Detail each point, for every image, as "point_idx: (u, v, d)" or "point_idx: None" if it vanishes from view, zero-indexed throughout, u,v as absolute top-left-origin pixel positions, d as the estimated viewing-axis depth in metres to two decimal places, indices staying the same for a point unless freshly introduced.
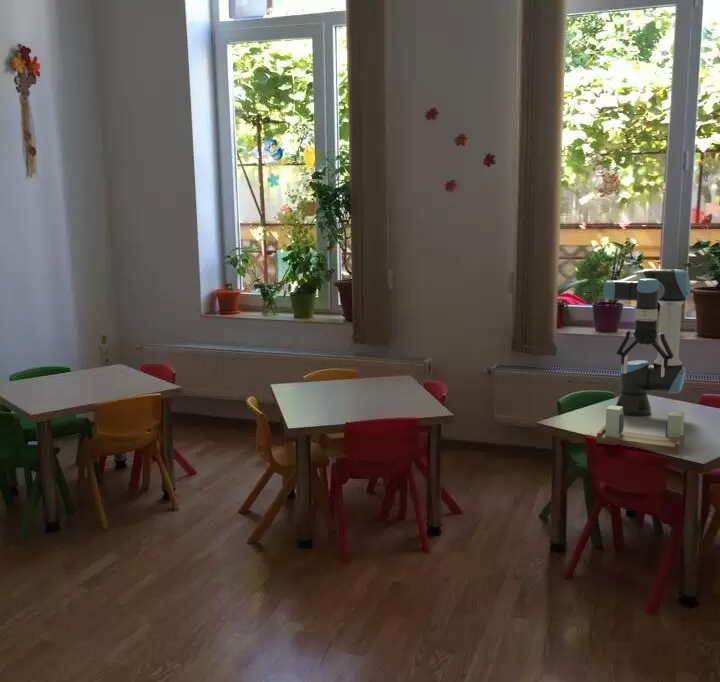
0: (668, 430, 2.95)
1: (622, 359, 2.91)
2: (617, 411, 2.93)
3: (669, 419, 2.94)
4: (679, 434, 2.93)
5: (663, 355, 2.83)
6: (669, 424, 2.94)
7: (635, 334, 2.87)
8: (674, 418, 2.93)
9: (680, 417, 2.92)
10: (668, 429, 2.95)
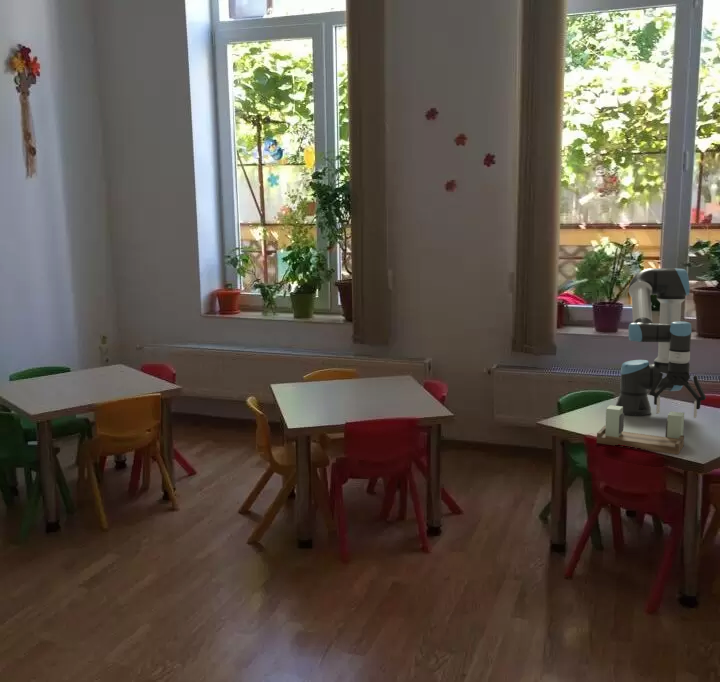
0: (668, 430, 2.95)
1: (655, 399, 2.98)
2: (617, 411, 2.93)
3: (669, 419, 2.94)
4: (679, 434, 2.93)
5: (696, 396, 2.89)
6: (669, 424, 2.94)
7: (668, 375, 2.93)
8: (674, 418, 2.93)
9: (680, 417, 2.92)
10: (668, 429, 2.95)
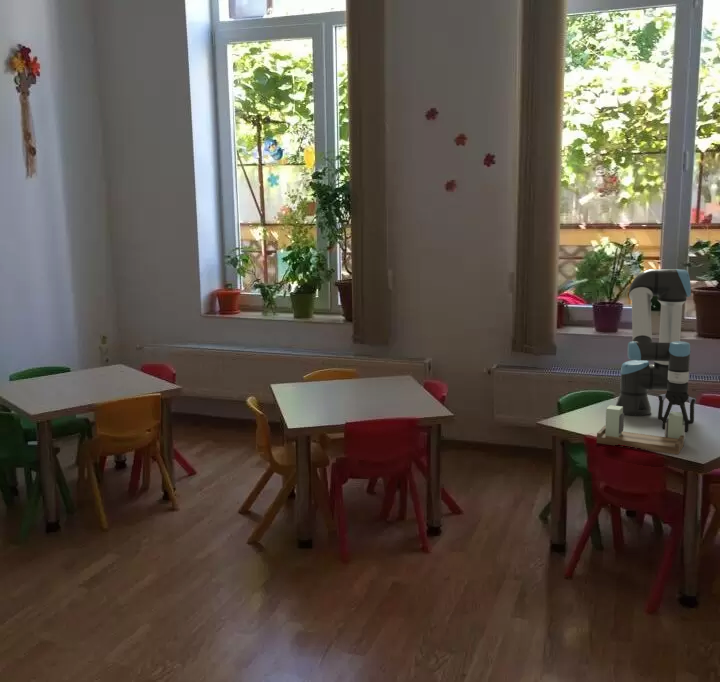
0: (668, 430, 2.95)
1: (663, 424, 2.98)
2: (617, 411, 2.93)
3: (670, 419, 2.94)
4: (680, 434, 2.93)
5: (685, 420, 2.92)
6: (670, 424, 2.94)
7: (667, 395, 2.95)
8: (675, 418, 2.93)
9: (681, 417, 2.92)
10: (669, 429, 2.95)
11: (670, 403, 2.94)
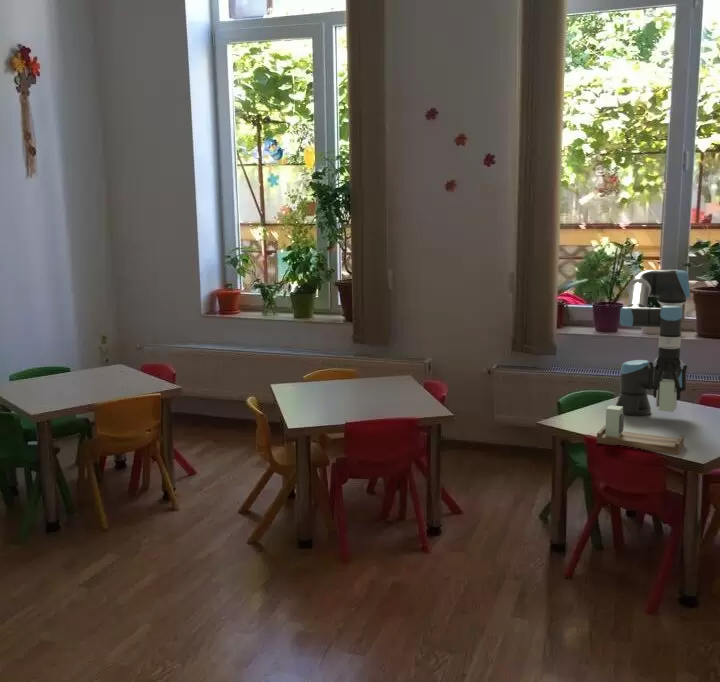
0: (660, 397, 2.84)
1: (654, 392, 2.87)
2: (617, 411, 2.93)
3: (661, 386, 2.83)
4: (671, 402, 2.82)
5: (677, 387, 2.82)
6: (661, 391, 2.83)
7: (658, 362, 2.84)
8: (666, 385, 2.82)
9: (672, 384, 2.81)
10: (660, 397, 2.84)
11: (661, 370, 2.83)
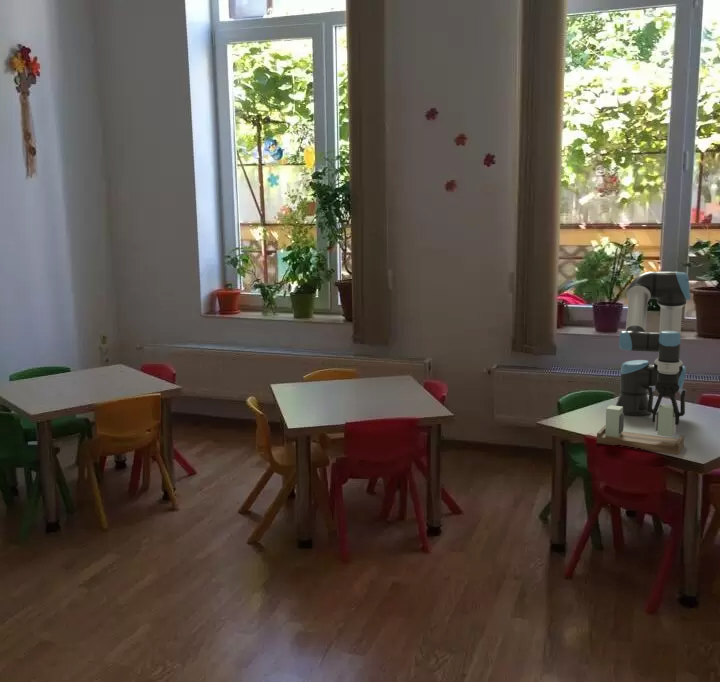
0: (658, 422, 2.85)
1: (653, 417, 2.88)
2: (617, 411, 2.93)
3: (660, 411, 2.85)
4: (670, 427, 2.83)
5: (676, 412, 2.83)
6: (660, 416, 2.85)
7: (657, 387, 2.86)
8: (665, 410, 2.84)
9: (671, 409, 2.82)
10: (659, 421, 2.85)
11: (660, 395, 2.85)
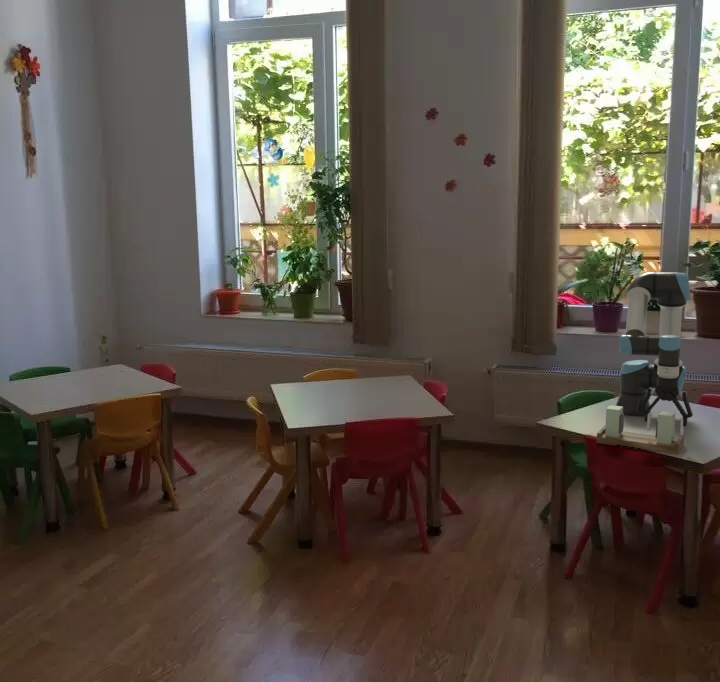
0: (658, 430, 2.86)
1: (645, 416, 2.90)
2: (617, 411, 2.93)
3: (659, 419, 2.85)
4: (669, 434, 2.84)
5: (683, 413, 2.82)
6: (659, 424, 2.86)
7: (656, 390, 2.86)
8: (664, 418, 2.84)
9: (670, 417, 2.83)
10: (658, 429, 2.86)
11: (658, 398, 2.85)
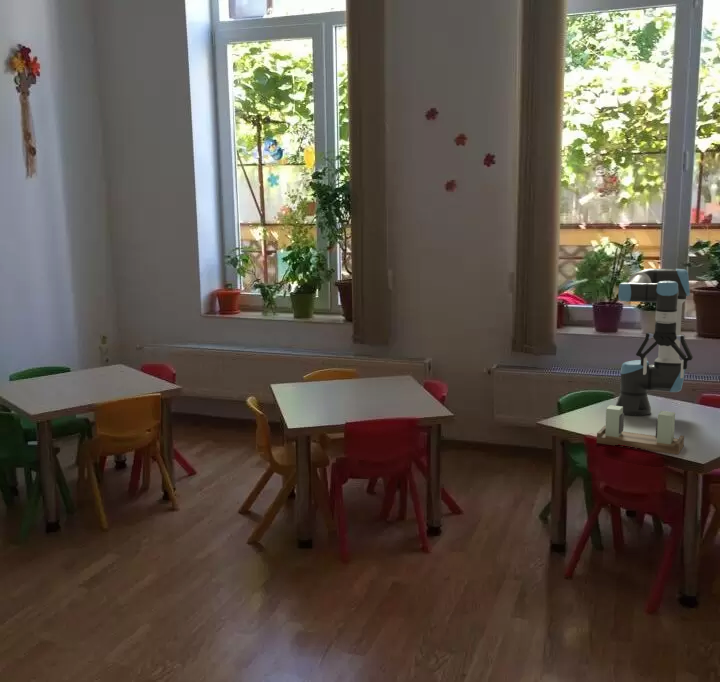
0: (658, 430, 2.86)
1: (641, 360, 2.95)
2: (617, 411, 2.93)
3: (659, 419, 2.85)
4: (669, 434, 2.84)
5: (683, 357, 2.86)
6: (659, 424, 2.86)
7: (655, 336, 2.90)
8: (664, 418, 2.84)
9: (670, 417, 2.83)
10: (658, 429, 2.86)
11: (656, 343, 2.90)
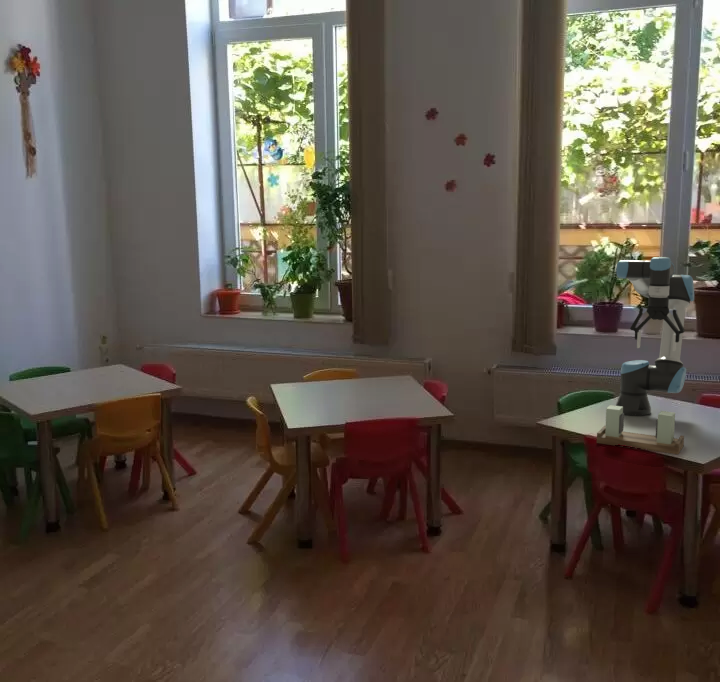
0: (658, 430, 2.86)
1: (635, 334, 3.06)
2: (617, 411, 2.93)
3: (659, 419, 2.85)
4: (669, 434, 2.84)
5: (675, 330, 2.97)
6: (659, 424, 2.86)
7: (648, 310, 3.01)
8: (664, 418, 2.84)
9: (670, 417, 2.83)
10: (658, 429, 2.86)
11: (649, 316, 3.01)
